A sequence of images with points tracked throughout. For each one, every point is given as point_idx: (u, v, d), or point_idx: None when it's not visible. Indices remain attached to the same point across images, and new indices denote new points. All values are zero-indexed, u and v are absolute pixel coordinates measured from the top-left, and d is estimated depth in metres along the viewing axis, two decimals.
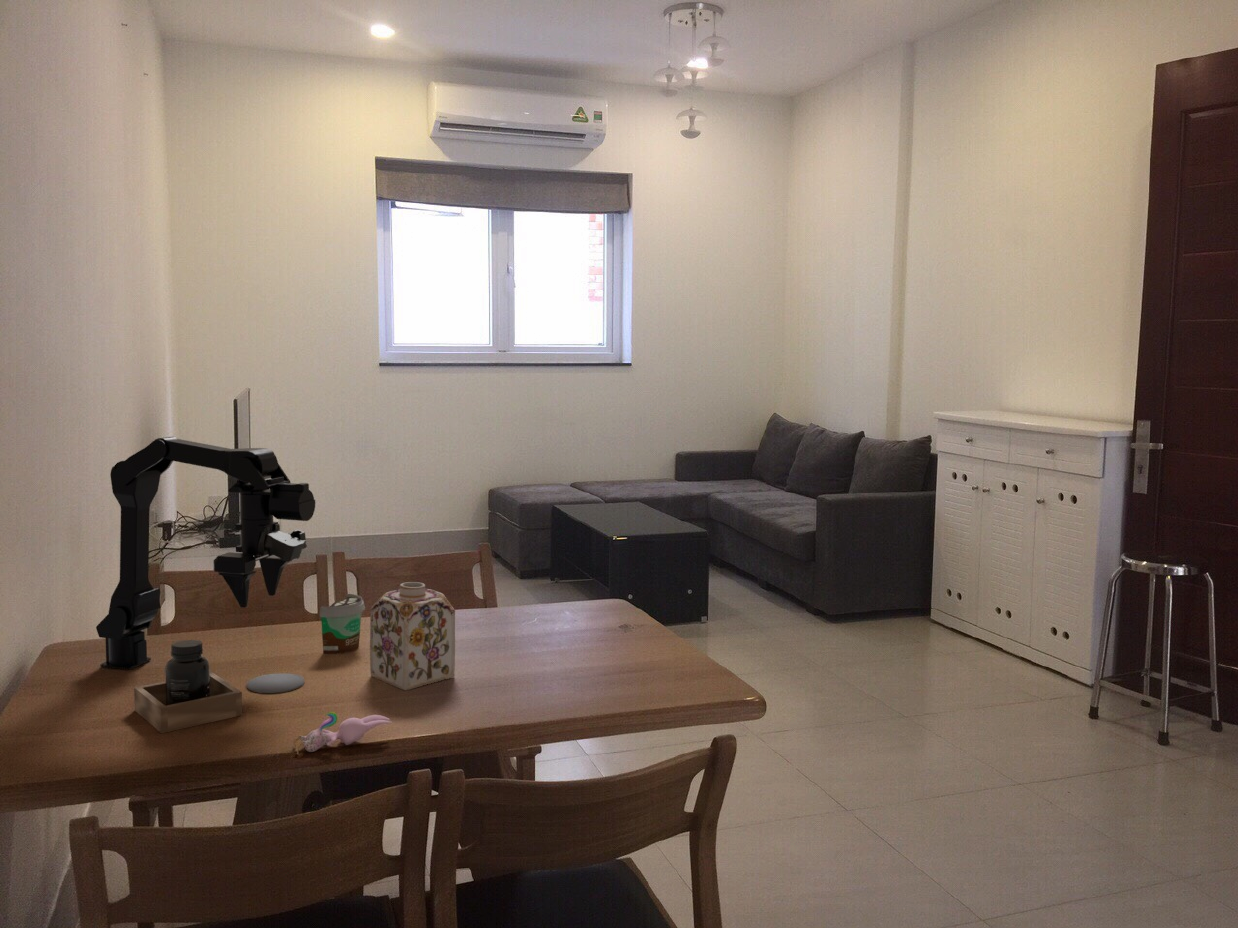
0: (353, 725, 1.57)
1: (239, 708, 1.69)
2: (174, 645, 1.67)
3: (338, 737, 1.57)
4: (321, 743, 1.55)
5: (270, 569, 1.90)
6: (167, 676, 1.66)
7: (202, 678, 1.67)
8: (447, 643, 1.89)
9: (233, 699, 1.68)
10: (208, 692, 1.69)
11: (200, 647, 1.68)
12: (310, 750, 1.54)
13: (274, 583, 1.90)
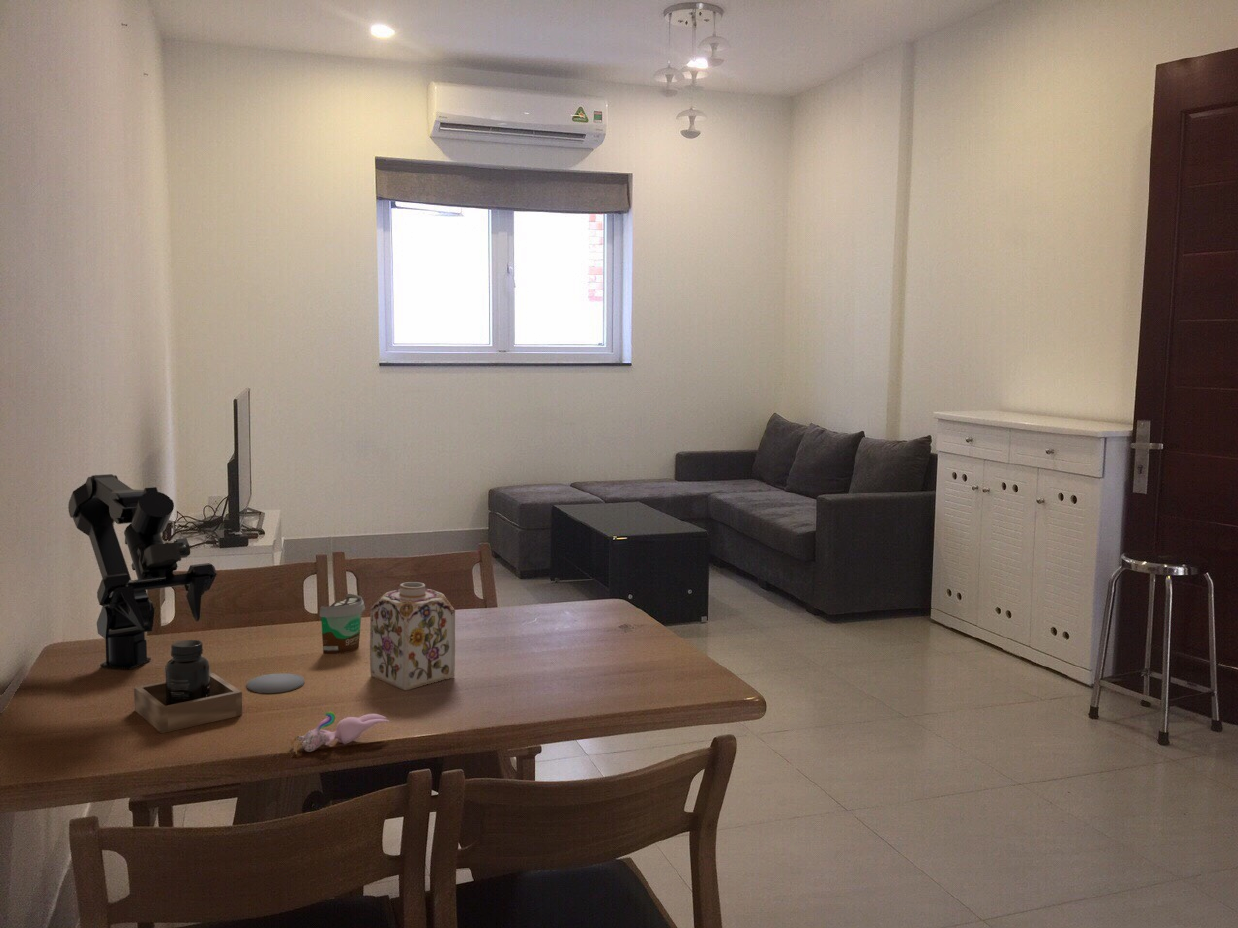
0: (351, 724, 1.57)
1: (239, 708, 1.69)
2: (174, 645, 1.67)
3: (336, 736, 1.57)
4: (319, 743, 1.55)
5: (191, 597, 1.80)
6: (167, 676, 1.66)
7: (202, 679, 1.67)
8: (447, 643, 1.89)
9: (233, 699, 1.68)
10: (208, 692, 1.69)
11: (200, 647, 1.68)
12: (309, 750, 1.54)
13: (194, 606, 1.78)
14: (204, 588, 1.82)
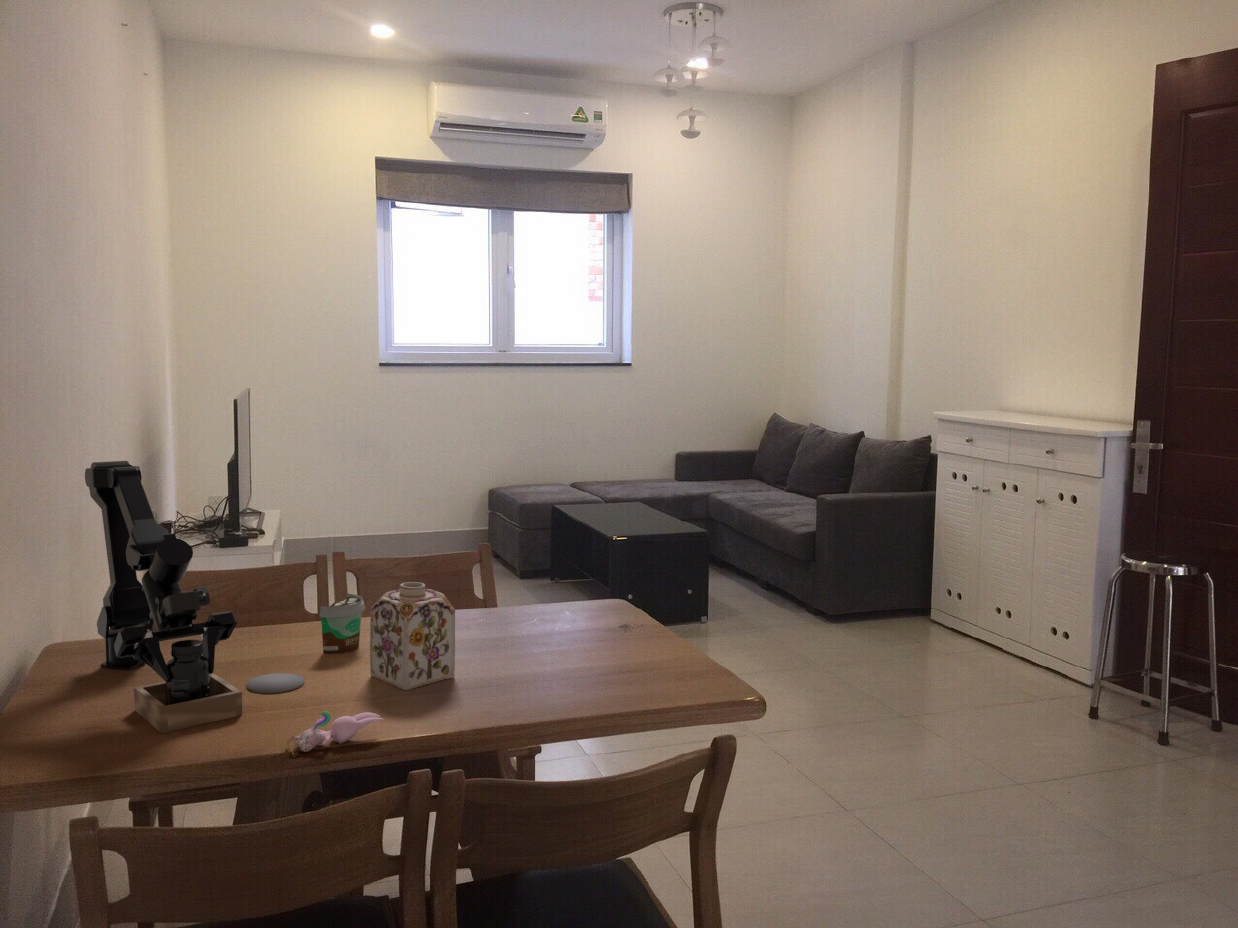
0: (346, 723, 1.58)
1: (239, 708, 1.69)
2: (174, 645, 1.67)
3: (331, 736, 1.57)
4: (315, 742, 1.55)
5: (204, 648, 1.73)
6: None
7: (202, 678, 1.67)
8: (447, 643, 1.89)
9: (233, 699, 1.68)
10: (208, 692, 1.69)
11: (200, 647, 1.68)
12: (305, 750, 1.54)
13: (208, 658, 1.71)
14: (218, 638, 1.75)
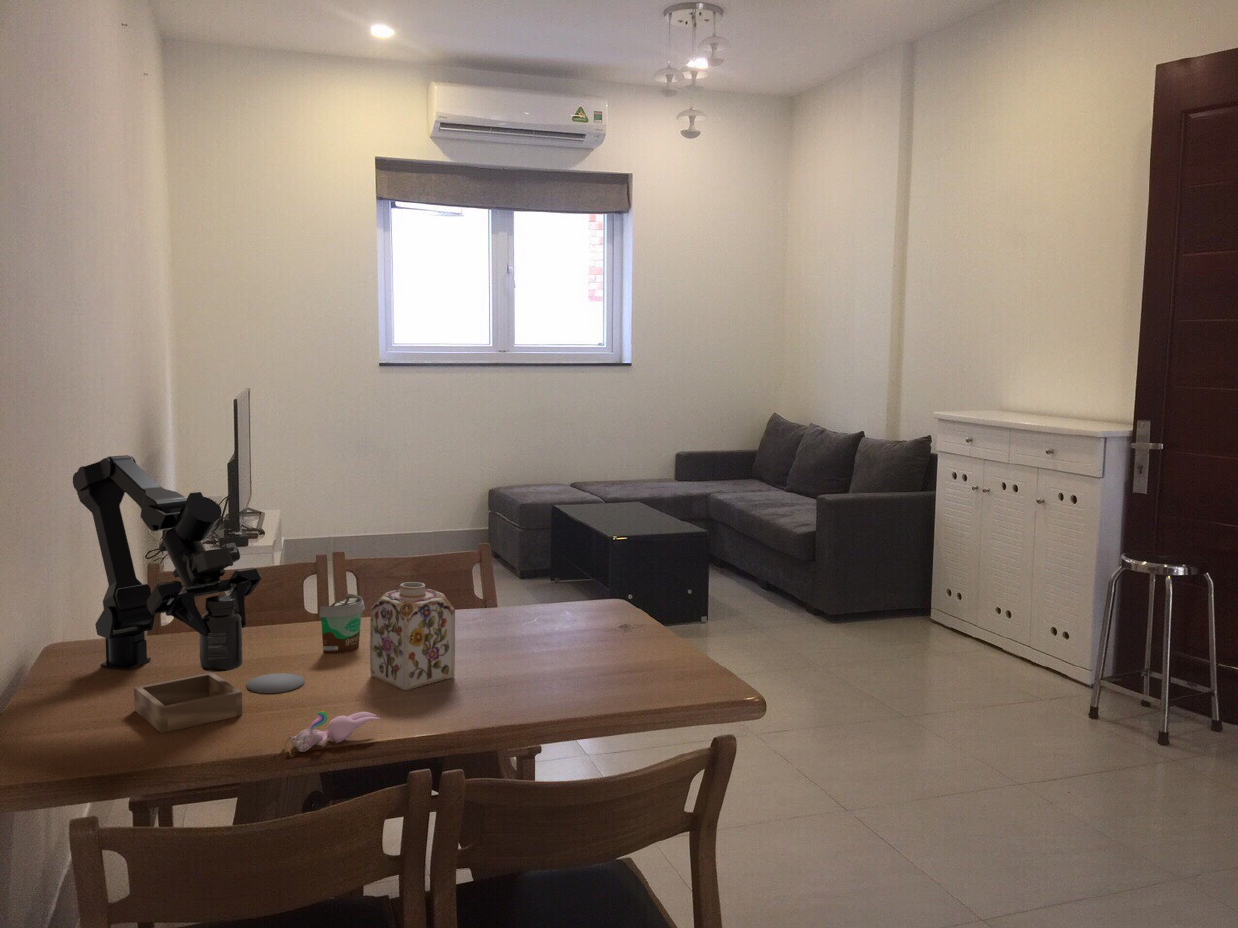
0: (343, 722, 1.58)
1: (239, 708, 1.69)
2: (209, 600, 1.70)
3: (328, 736, 1.58)
4: (312, 742, 1.55)
5: None
6: None
7: (237, 632, 1.71)
8: (447, 643, 1.89)
9: (233, 699, 1.68)
10: (241, 645, 1.73)
11: (234, 601, 1.72)
12: (303, 750, 1.54)
13: (239, 613, 1.75)
14: None
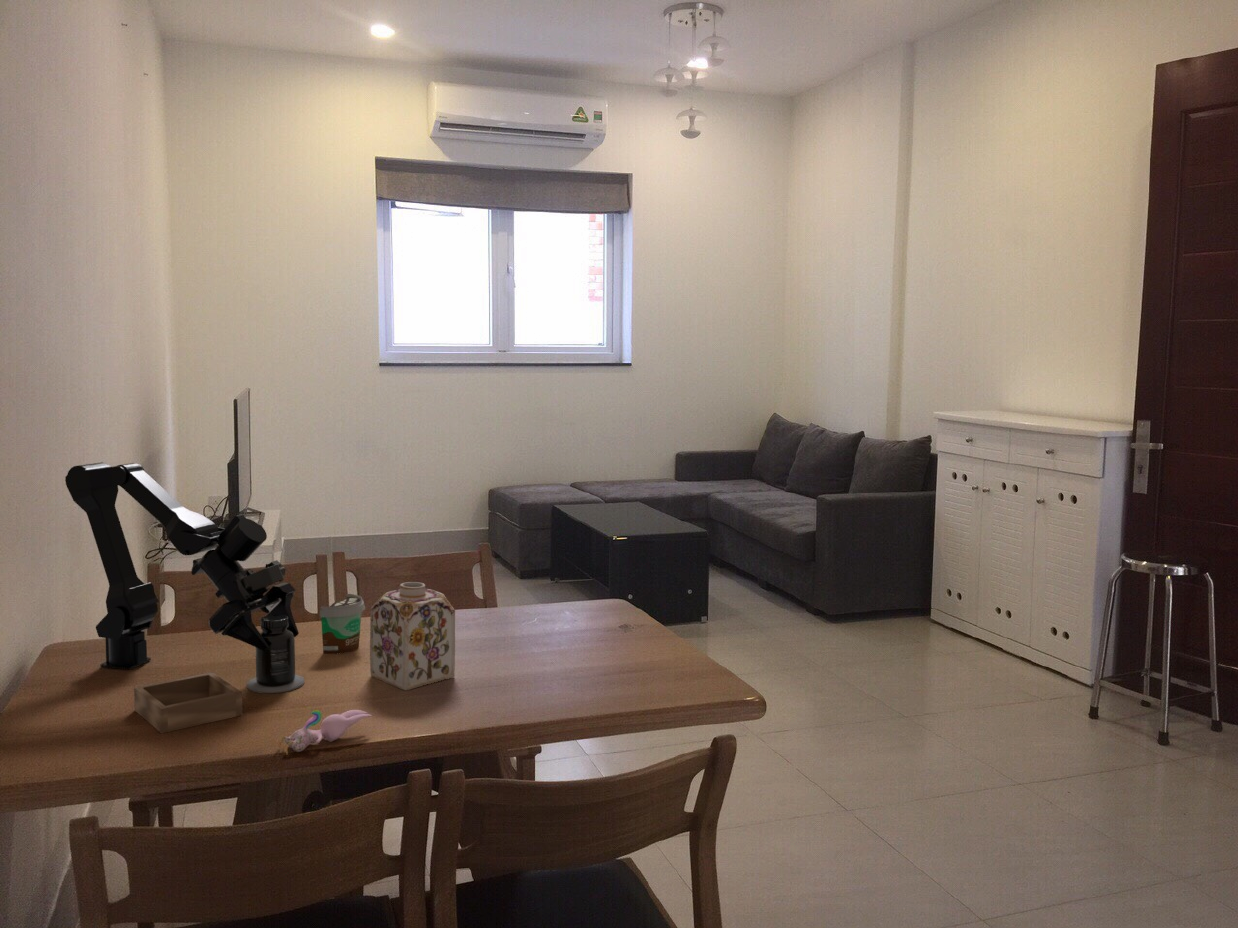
0: (337, 721, 1.59)
1: (239, 708, 1.69)
2: (267, 620, 1.82)
3: (322, 734, 1.58)
4: (308, 742, 1.56)
5: None
6: None
7: (294, 647, 1.84)
8: (447, 643, 1.89)
9: (233, 699, 1.68)
10: None
11: None
12: (299, 750, 1.54)
13: (290, 623, 1.88)
14: None
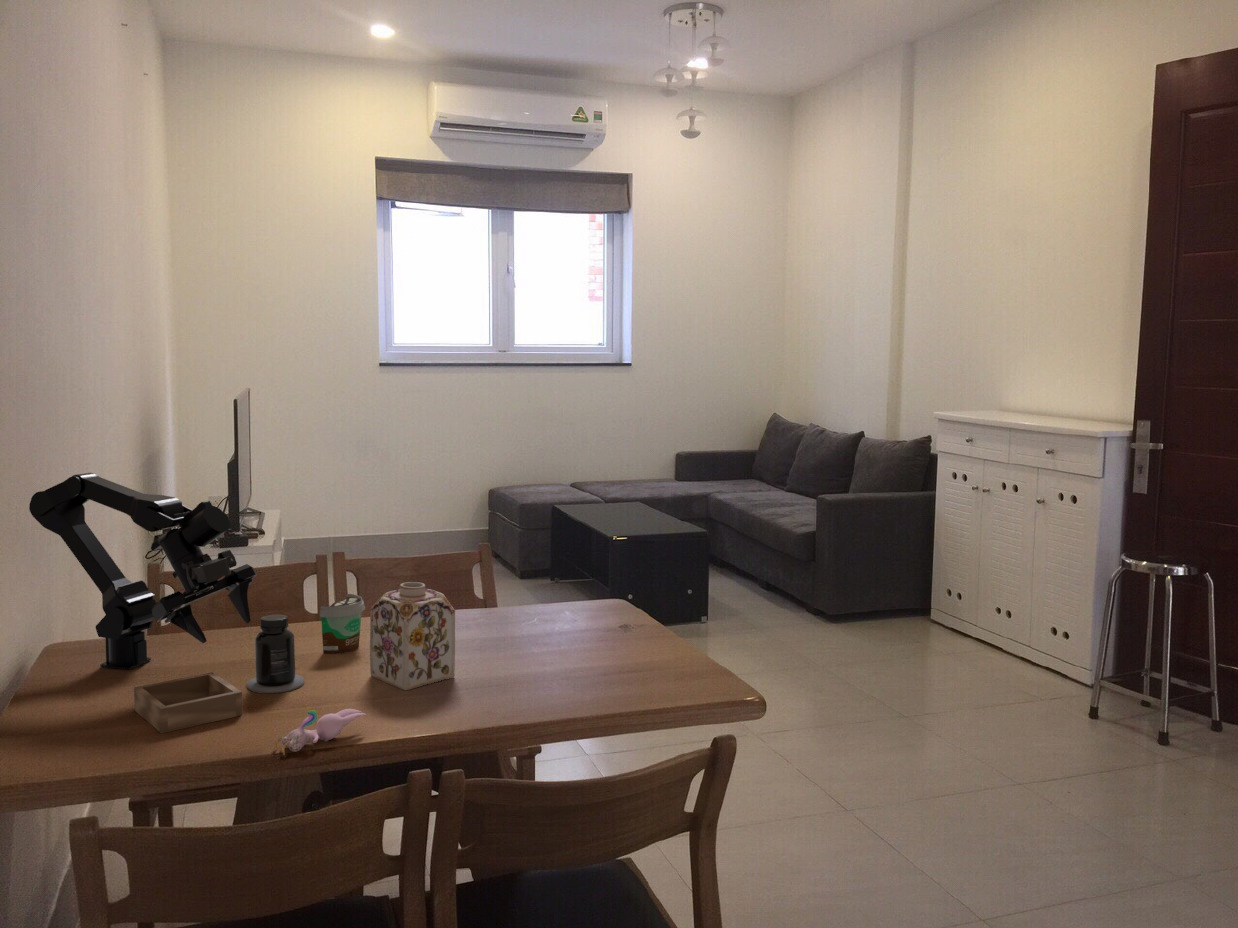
0: (333, 720, 1.59)
1: (239, 708, 1.69)
2: (267, 620, 1.82)
3: (318, 734, 1.58)
4: (305, 742, 1.56)
5: (236, 599, 1.90)
6: (265, 648, 1.81)
7: (293, 646, 1.85)
8: (447, 643, 1.89)
9: (233, 699, 1.68)
10: None
11: None
12: (296, 750, 1.54)
13: (243, 610, 1.89)
14: None
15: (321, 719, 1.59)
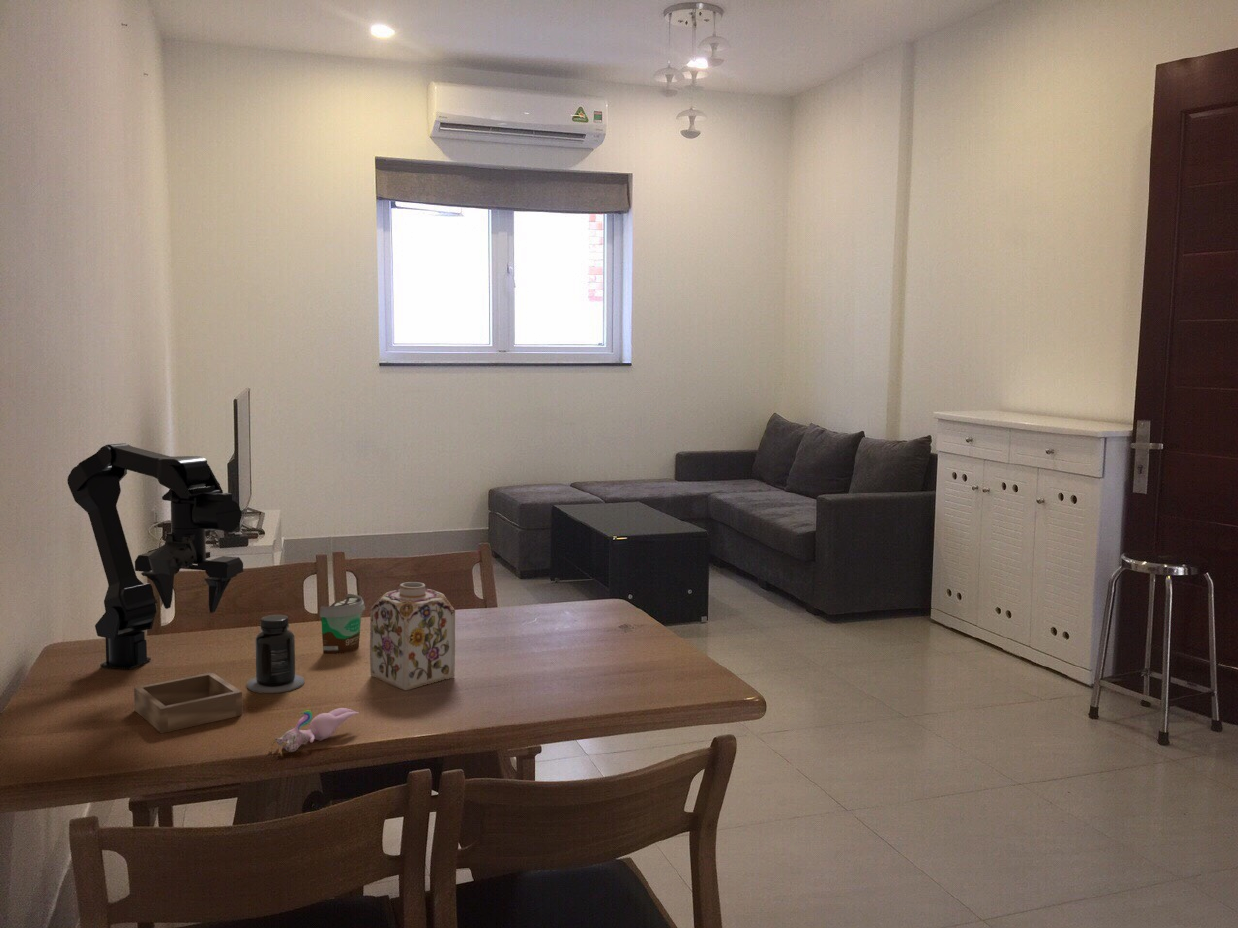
0: (328, 719, 1.59)
1: (239, 708, 1.69)
2: (267, 620, 1.82)
3: (313, 734, 1.58)
4: (301, 742, 1.56)
5: None
6: (265, 649, 1.81)
7: (294, 647, 1.84)
8: (447, 643, 1.89)
9: (233, 699, 1.68)
10: None
11: None
12: (293, 750, 1.54)
13: None
14: (228, 578, 1.83)
15: (315, 719, 1.59)
